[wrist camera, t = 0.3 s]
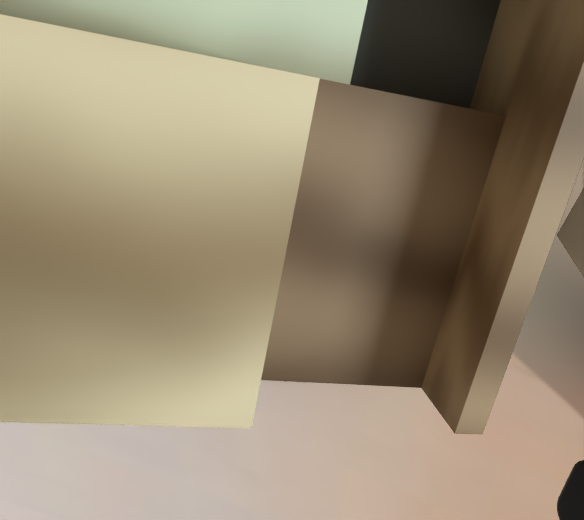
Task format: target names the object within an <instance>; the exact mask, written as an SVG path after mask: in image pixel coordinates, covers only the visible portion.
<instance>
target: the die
mask: <svg viewBox="0 0 584 520" xmlns="http://www.w3.org/2000/svg"><path fill="white" fill-rule="evenodd" d="M557 236H558V238H559V239H560V241H561V242H562V244H563V245H564V247H565V249H566V250H567V252H568V253H569V255H570V256H571V258H572V259H573V261H574V263H575V264H576V266H577V267H578V269H579V270H580V272H581V273H582V275H583V276H584V189H583V190H582V192H581V194H580V196H579V197H578V199H577V201H576V203H575V205H574V206H573V208H572V210H571V212H570V213H569V215H568V217H567V219H566V220H565V222H564V224H563V225H562V227H561V229H560V231H559V232H558V234H557Z"/></svg>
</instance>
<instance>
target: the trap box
mask: <svg viewBox="0 0 584 520" xmlns="http://www.w3.org/2000/svg"><path fill="white" fill-rule="evenodd" d="M0 14H2V15H7V16H12V17H17V18H22V19H27V20H32V21H37V22H42V23H47V24H52V25H57V26H62V27H67V28H72V29H77V30H82V31H87V32H92V33H97V34H101V35H106V36H111V37H116V38H121V39H126V40H131V41H136V42H141V43H146V44H151V45H156V46H161V47H166V48H171V49H176V50H181V51H186V52H191V53H196V54H201V55H206V56H211V57H216V58H221V59H226V60H231V61H236V62H241V63H246V64H251V65H256V66H261V67H266V68H271V69H276V70H281V71H286V72H291V73H296V74H301V75H306V76H311V77H316V78H320V80H319V85H318V90H317V95H316V101H315V106H314V111H313V116H312V121H311V126H310V131H309V137H308V142H307V147H306V152H305V157H304V162H303V167H302V172H301V178H300V183H299V188H298V193H297V198H296V203H295V208H294V213H293V219H292V224H291V229H290V234H289V239H288V244H287V249H286V254H285V260H284V265H283V270H282V275H281V280H280V285H279V290H278V295H277V301H276V306H275V311H274V316H273V321H272V326H271V331H270V336H269V342H268V347H267V352H266V357H265V362H264V367H263V372H262V377H261V380H275V381H295V382H315V383H336V384H356V385H377V386H397V387H418V388H422V389H423V391H424V392H425V393H426V395H427V396H428V397H429V399H430V400H431V402H432V403H433V404H434V406H435V407H436V408H437V410H438V411H439V413H440V414H441V415H442V417H443V418H444V419H445V421H446V422H447V424H448V425H449V426H450V428H451V429H452V430H453V432H454V433H455V434H483V431H484V429H485V426H486V423H487V420H488V418H489V415H490V412H491V410H492V407H493V404H494V401H495V399H496V396H497V393H498V391H499V388H500V385H501V382H502V380H503V377H504V374H505V371H506V369H507V366H508V363H509V361H510V358H511V355H512V352H513V350H514V347H515V344H516V342H517V339H518V336H519V333H520V331H521V328H522V325H523V322H524V320H525V317H526V314H527V312H528V309H529V306H530V303H531V301H532V298H533V295H534V292H535V290H536V287H537V284H538V282H539V279H540V276H541V273H542V270H543V268H544V265H545V263H546V260H547V257H548V254H549V252H550V249H551V246H552V243H553V241H554V238H555V235H556V233H557V230H558V227H559V225H560V222H561V219H562V216H563V214H564V211H565V208H566V205H567V203H568V200H569V197H570V195H571V192H572V189H573V186H574V184H575V181H576V178H577V175H578V173H579V170H580V167H581V165H582V162H583V159H584V0H0Z"/></svg>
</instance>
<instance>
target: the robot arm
mask: <svg viewBox="0 0 584 520" xmlns="http://www.w3.org/2000/svg"><path fill="white" fill-rule="evenodd" d="M557 512H558V516H559V519H560V520H584V460H582V461H579V462H578V463H576V464H575V466H574V467H573V469H572V471H571V473H570V475H569V477H568V479H567V481H566V483H565V485H564V487H563V490H562V492H561V494H560V496H559V498H558V502H557Z"/></svg>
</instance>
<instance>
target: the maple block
mask: <svg viewBox="0 0 584 520" xmlns="http://www.w3.org/2000/svg"><path fill="white" fill-rule="evenodd" d="M319 80H320V78H316V77H311V76H306V75H301V74H296V73H291V72H286V71H281V70H276V69H271V68H266V67H261V66H256V65H251V64H246V63H241V62H236V61H231V60H226V59H221V58H216V57H211V56H206V55H201V54H196V53H191V52H186V51H181V50H176V49H171V48H166V47H161V46H156V45H151V44H146V43H141V42H136V41H131V40H126V39H121V38H116V37H111V36H106V35H101V34H97V33H92V32H87V31H82V30H77V29H72V28H67V27H62V26H57V25H52V24H47V23H42V22H37V21H32V20H27V19H22V18H17V17H12V16H7V15H2V14H0V422H21V423H60V424H100V425H139V426H179V427H218V428H252V424H253V419H254V413H255V408H256V403H257V398H258V393H259V388H260V383H261V377H262V372H263V367H264V362H265V357H266V352H267V347H268V342H269V336H270V331H271V326H272V321H273V316H274V311H275V306H276V301H277V295H278V290H279V285H280V280H281V275H282V270H283V265H284V260H285V254H286V249H287V244H288V239H289V234H290V229H291V224H292V219H293V213H294V208H295V203H296V198H297V193H298V188H299V183H300V178H301V172H302V167H303V162H304V157H305V152H306V147H307V142H308V137H309V131H310V126H311V121H312V116H313V111H314V106H315V101H316V95H317V90H318V85H319Z"/></svg>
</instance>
